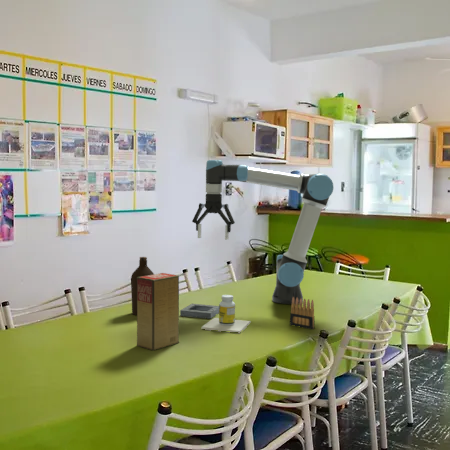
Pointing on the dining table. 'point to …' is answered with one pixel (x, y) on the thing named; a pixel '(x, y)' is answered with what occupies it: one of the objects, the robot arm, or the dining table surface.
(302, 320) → the ammunition clip
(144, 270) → the olive oil
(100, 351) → the dining table surface
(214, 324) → the cream tile
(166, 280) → the food packaging
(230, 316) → the pill bottle
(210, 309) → the metal collar
